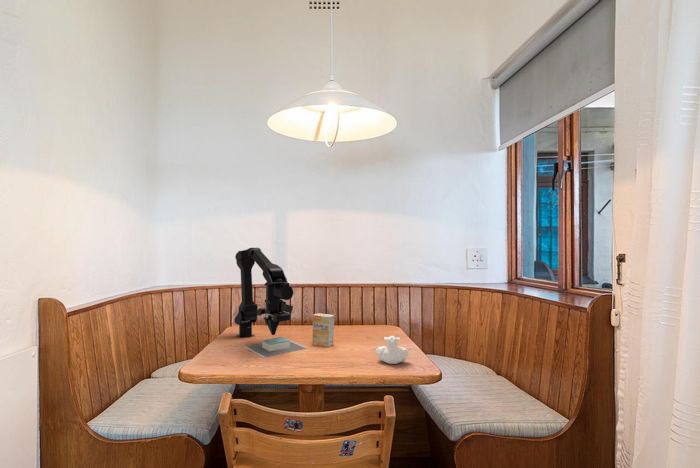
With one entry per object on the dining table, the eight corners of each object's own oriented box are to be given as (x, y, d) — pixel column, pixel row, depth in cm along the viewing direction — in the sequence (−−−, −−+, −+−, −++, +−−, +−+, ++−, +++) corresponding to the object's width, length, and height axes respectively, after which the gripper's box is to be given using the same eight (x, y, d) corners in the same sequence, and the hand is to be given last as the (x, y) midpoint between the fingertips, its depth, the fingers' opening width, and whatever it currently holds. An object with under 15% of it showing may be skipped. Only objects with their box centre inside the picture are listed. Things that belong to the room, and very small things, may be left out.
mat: (243, 347, 155) (243, 346, 155) (286, 340, 167) (286, 339, 167) (263, 358, 141) (263, 357, 141) (308, 349, 153) (308, 348, 153)
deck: (262, 340, 154) (270, 343, 148) (281, 336, 160) (290, 340, 154) (262, 347, 154) (269, 351, 148) (281, 343, 159) (289, 347, 154)
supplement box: (311, 345, 159) (312, 314, 159) (317, 342, 163) (317, 312, 163) (328, 348, 155) (329, 316, 155) (334, 345, 159) (334, 314, 160)
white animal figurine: (375, 368, 138) (374, 349, 131) (376, 350, 144) (375, 331, 137) (408, 369, 136) (408, 350, 129) (408, 352, 142) (408, 333, 135)
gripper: (302, 298, 154) (301, 336, 154) (280, 293, 169) (279, 328, 168) (277, 300, 147) (277, 340, 147) (257, 295, 162) (256, 331, 161)
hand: (273, 334), depth 156 cm, fingers closed
